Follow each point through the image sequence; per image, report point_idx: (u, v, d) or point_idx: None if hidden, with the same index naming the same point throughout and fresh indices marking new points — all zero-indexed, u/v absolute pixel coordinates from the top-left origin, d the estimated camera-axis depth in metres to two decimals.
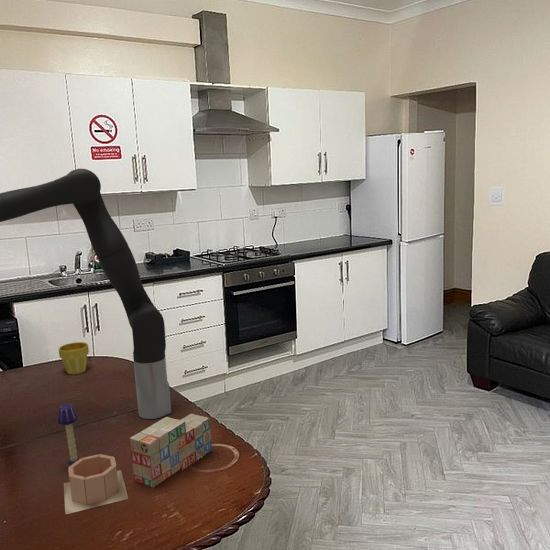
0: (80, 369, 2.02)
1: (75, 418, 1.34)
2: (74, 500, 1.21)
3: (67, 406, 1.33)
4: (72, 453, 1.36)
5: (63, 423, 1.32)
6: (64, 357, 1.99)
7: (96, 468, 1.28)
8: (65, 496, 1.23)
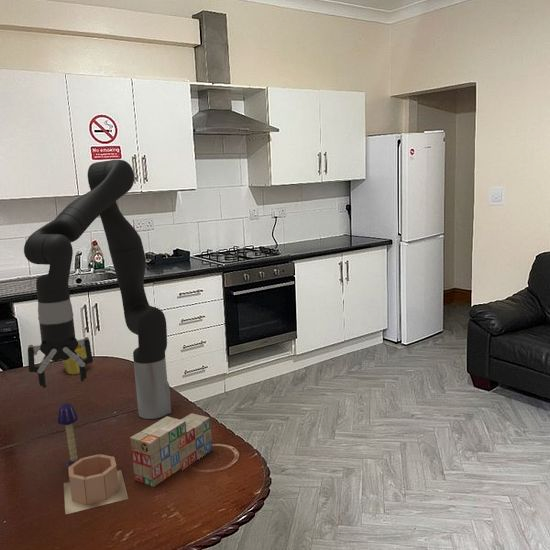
0: None
1: (75, 418, 1.34)
2: (74, 500, 1.21)
3: (67, 406, 1.33)
4: (72, 453, 1.36)
5: (63, 423, 1.32)
6: None
7: (96, 468, 1.28)
8: (65, 496, 1.23)
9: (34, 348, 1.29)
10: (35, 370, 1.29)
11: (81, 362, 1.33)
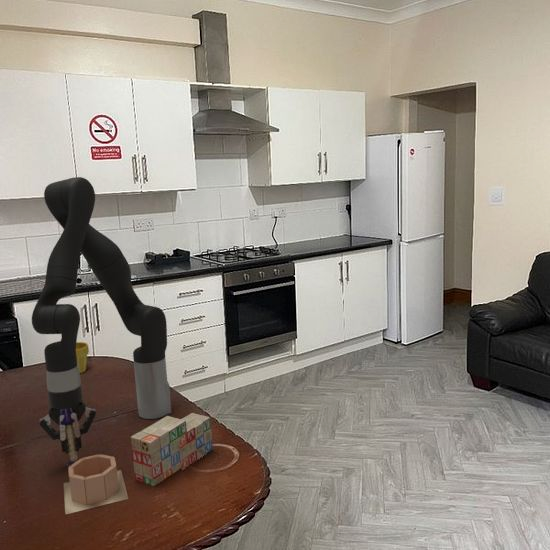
0: (80, 369, 2.02)
1: None
2: (74, 500, 1.21)
3: None
4: (72, 453, 1.36)
5: (63, 423, 1.32)
6: None
7: (96, 468, 1.28)
8: (65, 496, 1.23)
9: (45, 419, 1.32)
10: (58, 437, 1.34)
11: (78, 432, 1.35)
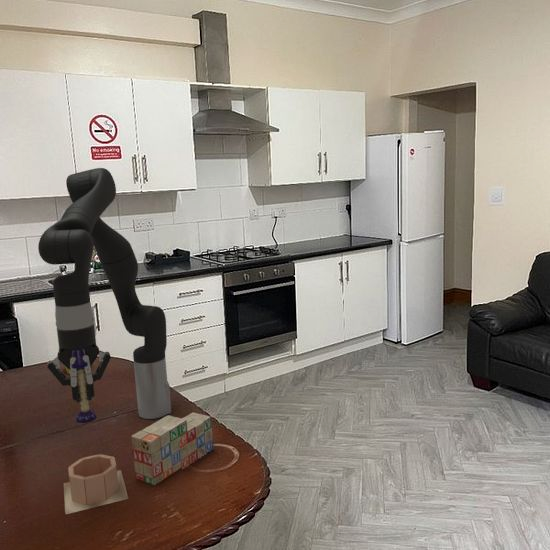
0: None
1: None
2: (74, 500, 1.21)
3: None
4: (83, 402, 1.20)
5: (74, 366, 1.17)
6: None
7: (96, 468, 1.28)
8: (65, 496, 1.23)
9: (53, 362, 1.17)
10: (68, 383, 1.18)
11: (90, 378, 1.19)
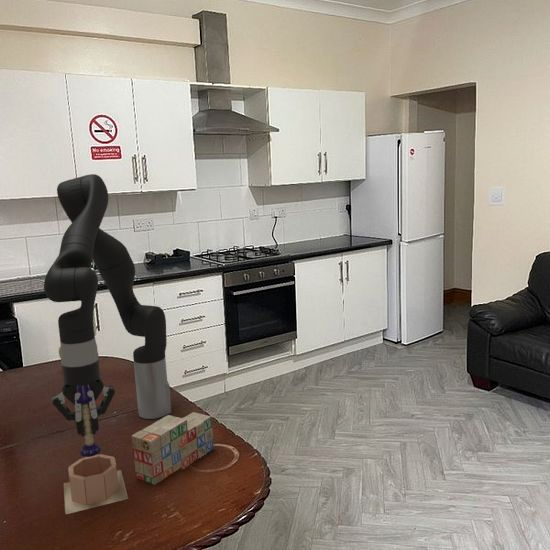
0: None
1: None
2: (74, 500, 1.21)
3: None
4: (88, 436, 1.21)
5: (79, 402, 1.18)
6: None
7: (96, 468, 1.28)
8: (65, 496, 1.23)
9: (58, 398, 1.18)
10: (73, 418, 1.20)
11: (94, 413, 1.21)
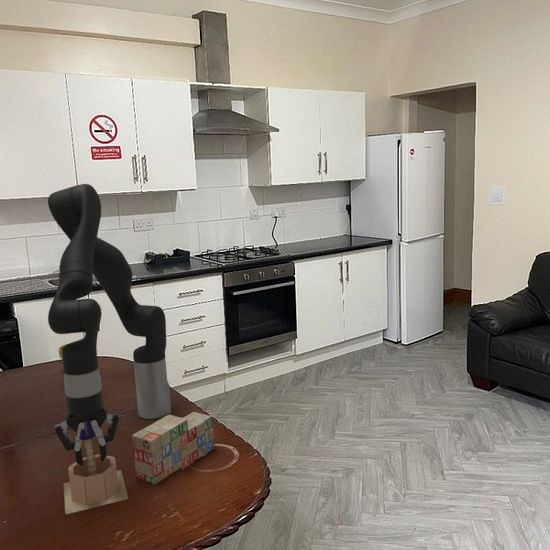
0: None
1: None
2: (74, 500, 1.21)
3: None
4: (91, 471, 1.23)
5: (82, 438, 1.20)
6: None
7: (96, 468, 1.28)
8: (65, 496, 1.23)
9: (61, 426, 1.19)
10: (72, 448, 1.20)
11: (102, 440, 1.22)
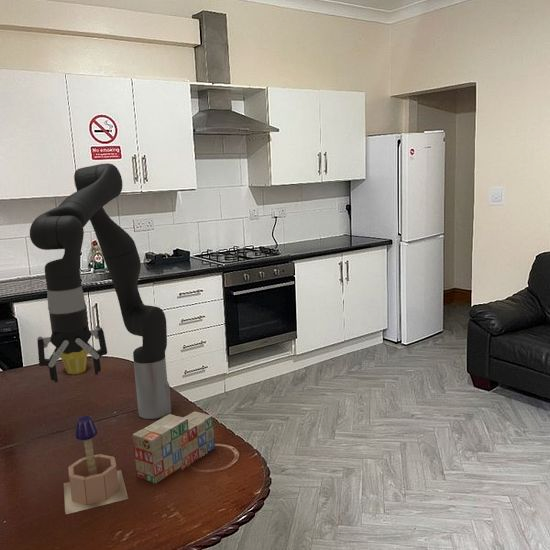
0: (80, 369, 2.02)
1: (95, 432, 1.21)
2: (74, 500, 1.21)
3: (86, 419, 1.20)
4: (91, 471, 1.23)
5: (82, 438, 1.20)
6: (64, 357, 1.99)
7: (96, 468, 1.28)
8: (65, 496, 1.23)
9: (44, 340, 1.19)
10: (46, 364, 1.20)
11: (95, 354, 1.23)
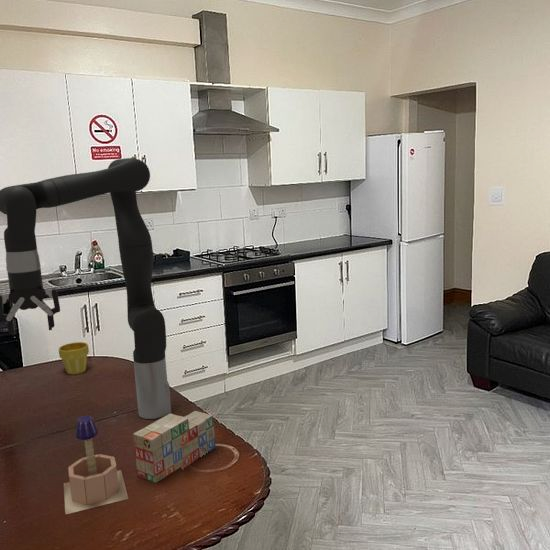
0: (80, 369, 2.02)
1: (95, 432, 1.21)
2: (74, 500, 1.21)
3: (86, 419, 1.21)
4: (91, 471, 1.23)
5: (82, 438, 1.20)
6: (64, 357, 1.99)
7: None
8: (65, 496, 1.23)
9: (3, 296, 1.34)
10: (4, 318, 1.35)
11: (49, 311, 1.38)
